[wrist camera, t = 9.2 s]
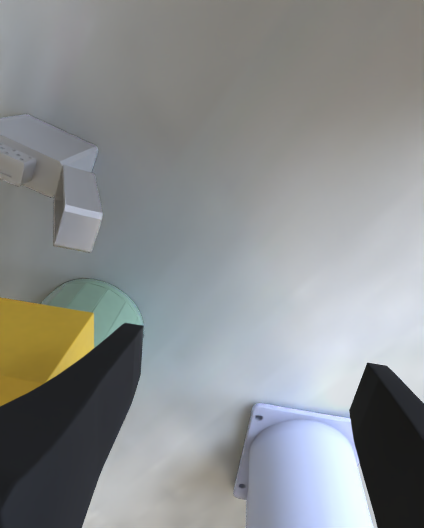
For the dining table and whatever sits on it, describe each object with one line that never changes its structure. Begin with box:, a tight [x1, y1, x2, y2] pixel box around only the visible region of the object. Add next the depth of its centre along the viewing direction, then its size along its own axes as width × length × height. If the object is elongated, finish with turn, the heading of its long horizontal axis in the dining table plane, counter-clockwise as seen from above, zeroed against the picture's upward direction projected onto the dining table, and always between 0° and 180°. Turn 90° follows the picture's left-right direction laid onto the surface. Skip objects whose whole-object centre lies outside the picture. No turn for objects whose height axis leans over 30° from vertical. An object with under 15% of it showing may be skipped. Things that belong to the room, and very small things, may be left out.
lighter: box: [0, 114, 103, 253], centre depth 17 cm, size 7×2×8 cm, turn 66°
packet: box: [0, 297, 94, 406], centre depth 18 cm, size 10×5×5 cm, turn 173°
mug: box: [40, 279, 144, 348], centre depth 23 cm, size 9×6×6 cm
